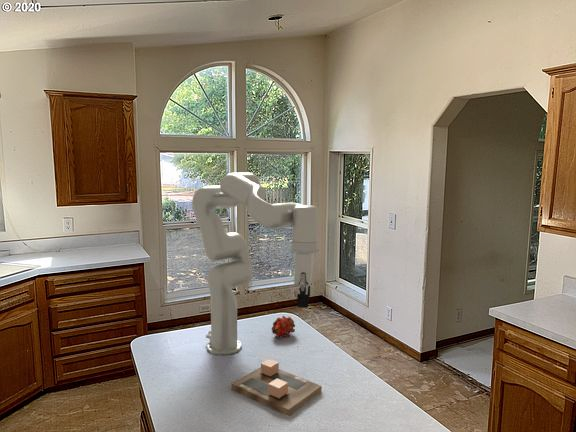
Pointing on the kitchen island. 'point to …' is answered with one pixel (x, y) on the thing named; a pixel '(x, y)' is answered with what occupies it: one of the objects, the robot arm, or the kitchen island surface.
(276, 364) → the tab
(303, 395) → the switch board
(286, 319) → the dragon fruit
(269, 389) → the tab
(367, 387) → the kitchen island surface
